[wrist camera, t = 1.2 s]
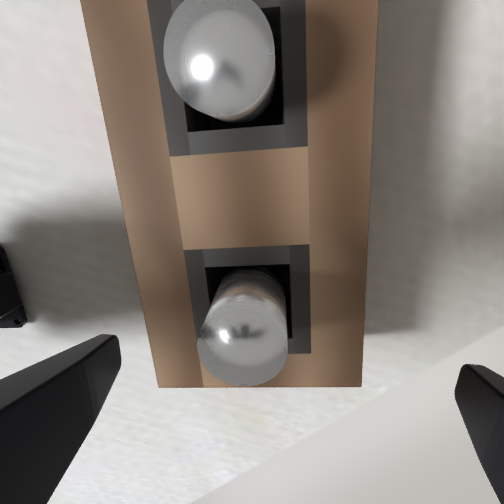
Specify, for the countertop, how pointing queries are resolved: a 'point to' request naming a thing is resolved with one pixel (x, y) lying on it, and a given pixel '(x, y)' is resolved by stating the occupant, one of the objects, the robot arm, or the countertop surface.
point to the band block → (246, 184)
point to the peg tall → (245, 328)
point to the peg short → (221, 58)
